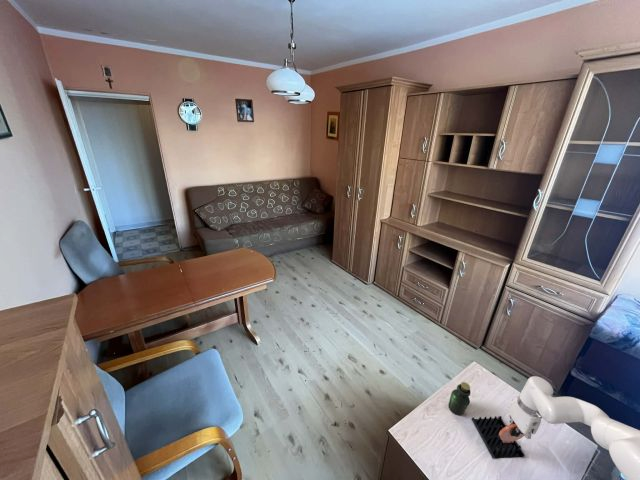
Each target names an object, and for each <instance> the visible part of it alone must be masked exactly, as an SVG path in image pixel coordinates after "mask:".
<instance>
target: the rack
mask: <svg viewBox="0 0 640 480" xmlns="http://www.w3.org/2000/svg"><path fill="white" fill-rule="evenodd" d="M502 418H503V416H501V415H499V416H495V415H494V417H492V416H489V417H487V416H484V417H483V418H482V416H479V417H478V418H475V417H473V416H472V417H471V421H472V423H473V425H474V427H475V429H476V430H477V432H478V434H479V436H480V438H481V440H482V442H483V444H484V446H485V447H486V449H487V451H488V453H489V455H490V456H491V457H490V458H492V459H495V460H496V459H517V458H518V459H520V458H521V459H522V458H525V457H526V454H525V453H524V452H523V450H522V446H521V445H519V444H518V442H517V440H516V441H514V442H512V443H503V441H502V440H501V439H500V437H499V432H500V431H501V430H502V429H503V428H504V427H506V426H508V425H507V424H506V423H505V422H504V420H503V419H502Z"/></svg>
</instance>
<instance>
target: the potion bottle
mask: <svg viewBox="0 0 640 480" xmlns="http://www.w3.org/2000/svg"><path fill="white" fill-rule="evenodd" d="M470 396H471V386H470V384H469V383H468V382H466V381H462V382H461V383H460V384H458V385H457V386H456V388H454V389H453V390H452V391H451V393H450V396H449V401H448V404H447V406H448V409H449V411H450V412H451V413H452V414H453V415H455V416H457V417H459V416H462V415H463V413H465V411H466V410H467V408H468V407H469V405H470V403H471V400H470Z"/></svg>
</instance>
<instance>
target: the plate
mask: <svg viewBox="0 0 640 480" xmlns="http://www.w3.org/2000/svg"><path fill="white" fill-rule="evenodd" d="M516 427H517V425H516V424H511V425H510V424H508V425H507V426H506V427H504V428H503V429H502V430H501V431H500V432H499V437H500V439H501V440H502V441H503V443H512V442H514V441H516V442H517V441H519V440H520V439H523V437H525V436H524V435H523V434H520V435H519V436H518V437H515V436H511V432H512V431H513V429H516Z"/></svg>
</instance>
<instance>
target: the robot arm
mask: <svg viewBox="0 0 640 480" xmlns="http://www.w3.org/2000/svg"><path fill="white" fill-rule="evenodd" d="M553 394H554V388H553V386H552V385H551V383H550V382H548V380H546V379H545V378H543V377H540V376H538V375H537V376H535V375H534V376H533V375H532V376H530V377H529V378H528V379H527V381H526V383H525V384H524V386H523V388H522V389H521V392H520V393H519V395H518V396H516V397H515V398H514V399H513V400H512V401H511V402H510V403H509V405H508V407H507V409H506V411H507V413H508V415H509V423H510V424H509V425H511V424H516V425H517V427H516V429H513V431H512V432H511V436H515V437H518V436H519V435H520V434H523V435H524V437H525V438H526V440H531V439H532V435H536V434H537V432H538V430H539V428H540V426H541V422H542V420H544V421H545V422H546V423H548V424H551V425H560V424H569V423H570V424H571V423H581V424H584V425H587V426H589V427H590V432H591V437H592V439H593V440H594V441H595V443H596V444H597V445H599V446H600V447H601V448H603V449H604V450H607V451H608V452H609V456H610V458H611V460H612V462H613V464H614V465H615V467H616V468H617V469H618V471H619V472H620V474H621V475H622V476H623V477H624V478H625V480H640V429H638V428H634V427H632V426H629V425H627V424H625V423H622V422H620V421H618V420H615V419H613V418H610V416H609V415H608V414H607V413H606V412H604V410H602V409H601V408H599V407H598V406H597V405H595V404H592V403H590V402H587V401H585V400H582V399H580V398H576V397H573V396H553Z"/></svg>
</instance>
